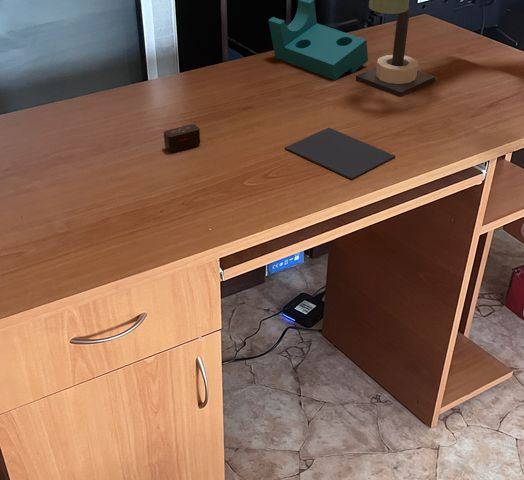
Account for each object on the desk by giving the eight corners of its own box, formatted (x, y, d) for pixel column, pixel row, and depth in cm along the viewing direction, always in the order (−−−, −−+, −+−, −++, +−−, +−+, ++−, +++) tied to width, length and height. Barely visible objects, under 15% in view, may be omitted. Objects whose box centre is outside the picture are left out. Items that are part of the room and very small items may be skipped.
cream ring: (423, 76, 167) (425, 62, 165) (399, 87, 162) (401, 72, 160) (392, 65, 171) (394, 51, 169) (368, 75, 167) (369, 61, 165)
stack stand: (435, 81, 168) (446, 7, 158) (400, 96, 161) (409, 21, 151) (390, 65, 174) (399, -6, 164) (355, 80, 168) (362, 7, 158)
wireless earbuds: (205, 144, 144) (204, 128, 142) (170, 154, 141) (169, 137, 139) (193, 135, 147) (192, 118, 145) (159, 144, 144) (157, 127, 142)
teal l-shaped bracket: (276, 63, 178) (268, 20, 170) (308, 39, 182) (302, -4, 174) (335, 86, 169) (330, 41, 161) (368, 60, 172) (364, 16, 164)
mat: (395, 157, 141) (395, 155, 141) (351, 180, 134) (351, 178, 134) (328, 129, 149) (328, 127, 149) (284, 149, 143) (284, 147, 143)
